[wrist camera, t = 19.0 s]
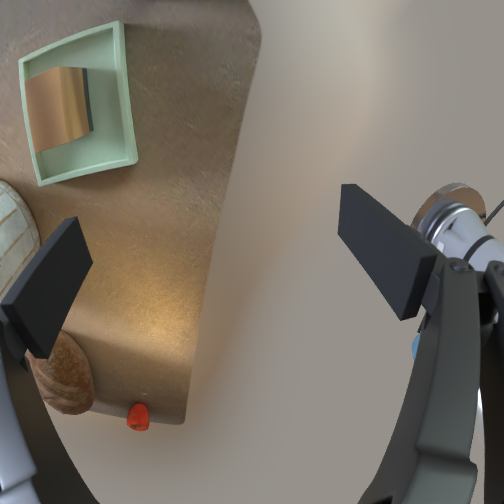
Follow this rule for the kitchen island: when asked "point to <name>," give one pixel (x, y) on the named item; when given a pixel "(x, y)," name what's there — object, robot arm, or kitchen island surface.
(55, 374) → the bread
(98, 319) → the kitchen island surface
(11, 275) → the white milk churn
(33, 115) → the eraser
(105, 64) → the tray
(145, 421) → the apple
